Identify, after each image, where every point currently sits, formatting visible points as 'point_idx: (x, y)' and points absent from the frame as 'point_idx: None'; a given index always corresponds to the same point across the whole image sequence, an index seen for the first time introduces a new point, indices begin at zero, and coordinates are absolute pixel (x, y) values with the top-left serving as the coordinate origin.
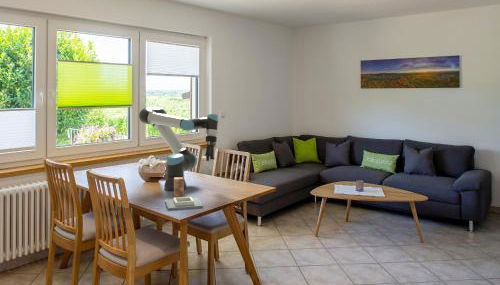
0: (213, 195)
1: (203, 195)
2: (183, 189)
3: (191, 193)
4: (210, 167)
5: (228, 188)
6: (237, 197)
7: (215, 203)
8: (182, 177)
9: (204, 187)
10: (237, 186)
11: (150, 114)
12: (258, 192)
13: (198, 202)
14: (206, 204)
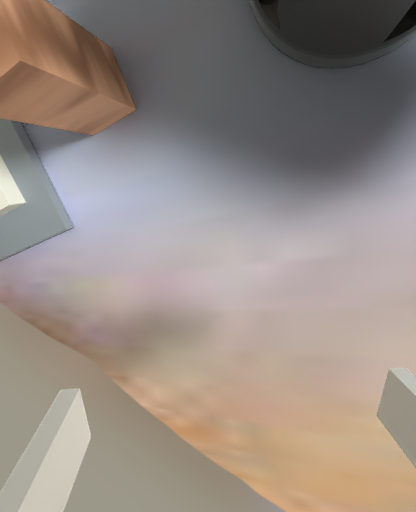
0: (168, 299)
1: (158, 246)
2: (52, 125)
3: (190, 161)
4: (395, 406)
5: (346, 380)
6: (155, 399)
7: (48, 311)
8: (4, 69)
9: (386, 223)
10: None
11: None
12: (256, 490)
13: (2, 246)
14: (24, 277)
